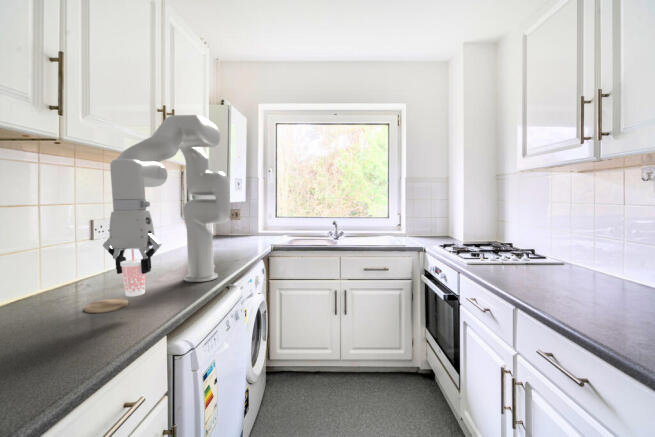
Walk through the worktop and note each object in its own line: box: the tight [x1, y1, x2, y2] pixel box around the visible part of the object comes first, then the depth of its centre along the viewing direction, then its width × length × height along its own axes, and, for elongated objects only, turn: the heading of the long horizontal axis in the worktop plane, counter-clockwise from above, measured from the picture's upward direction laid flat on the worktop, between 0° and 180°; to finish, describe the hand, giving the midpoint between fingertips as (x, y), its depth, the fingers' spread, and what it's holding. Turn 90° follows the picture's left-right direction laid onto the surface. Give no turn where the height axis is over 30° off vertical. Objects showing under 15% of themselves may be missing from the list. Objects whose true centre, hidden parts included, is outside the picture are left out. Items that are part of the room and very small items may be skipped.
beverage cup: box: [120, 249, 146, 297], centre depth 92 cm, size 6×6×14 cm
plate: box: [84, 298, 129, 314], centre depth 102 cm, size 11×11×1 cm
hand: (134, 272), depth 92 cm, fingers closed on beverage cup, 6 cm apart
